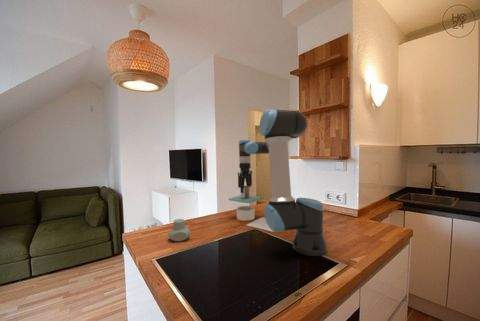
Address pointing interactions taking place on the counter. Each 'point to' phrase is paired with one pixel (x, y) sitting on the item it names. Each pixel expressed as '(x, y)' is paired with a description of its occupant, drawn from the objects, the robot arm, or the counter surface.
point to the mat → (260, 224)
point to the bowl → (245, 213)
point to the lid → (247, 198)
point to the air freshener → (179, 230)
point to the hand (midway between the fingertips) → (245, 196)
